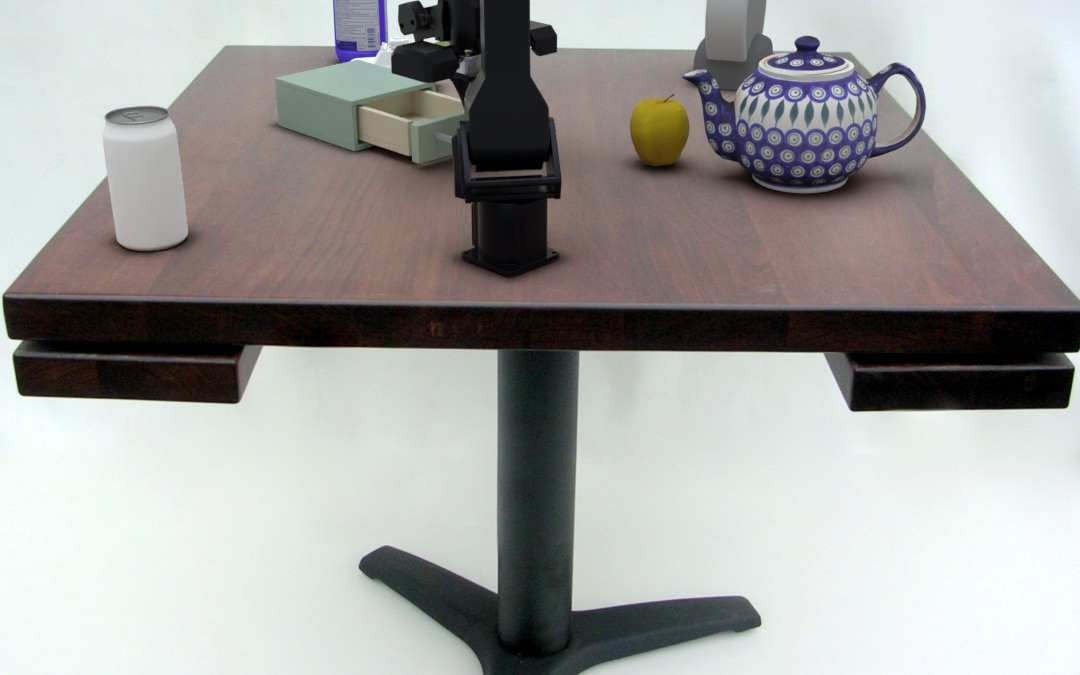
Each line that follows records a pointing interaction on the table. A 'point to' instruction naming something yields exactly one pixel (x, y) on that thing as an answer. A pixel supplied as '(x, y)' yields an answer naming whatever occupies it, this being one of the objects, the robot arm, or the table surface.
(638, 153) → the apple
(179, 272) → the table surface
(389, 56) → the toy car
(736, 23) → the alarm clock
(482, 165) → the robot arm
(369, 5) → the bottle
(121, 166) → the can
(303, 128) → the cabinet
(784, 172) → the teapot
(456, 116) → the drawer
